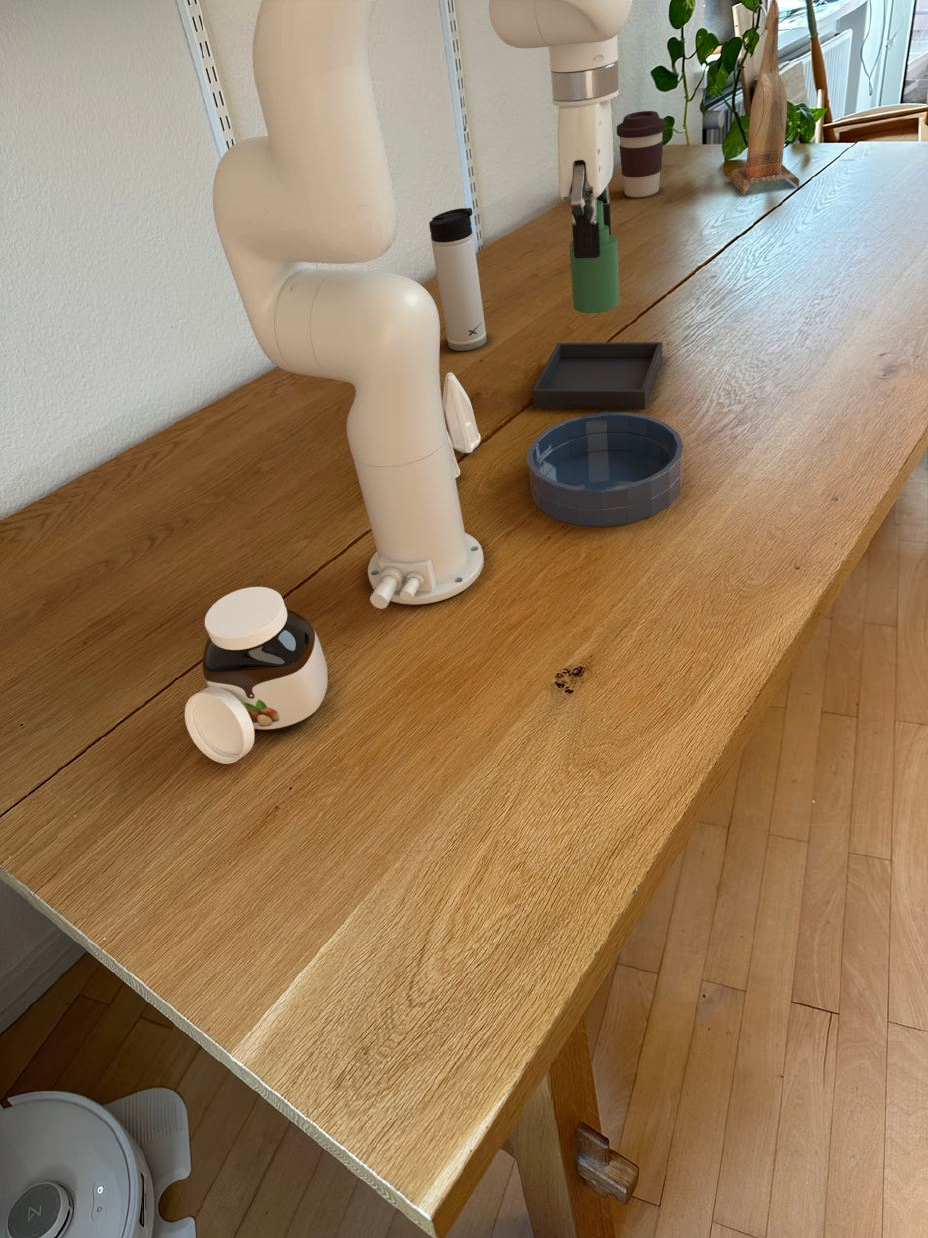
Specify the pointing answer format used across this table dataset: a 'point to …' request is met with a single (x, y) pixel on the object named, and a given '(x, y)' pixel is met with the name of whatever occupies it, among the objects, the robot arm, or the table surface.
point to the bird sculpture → (766, 118)
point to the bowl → (606, 469)
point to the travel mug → (458, 279)
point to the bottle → (596, 273)
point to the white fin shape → (459, 419)
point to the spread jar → (254, 674)
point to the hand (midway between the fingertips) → (593, 245)
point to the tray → (599, 375)
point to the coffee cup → (641, 152)
